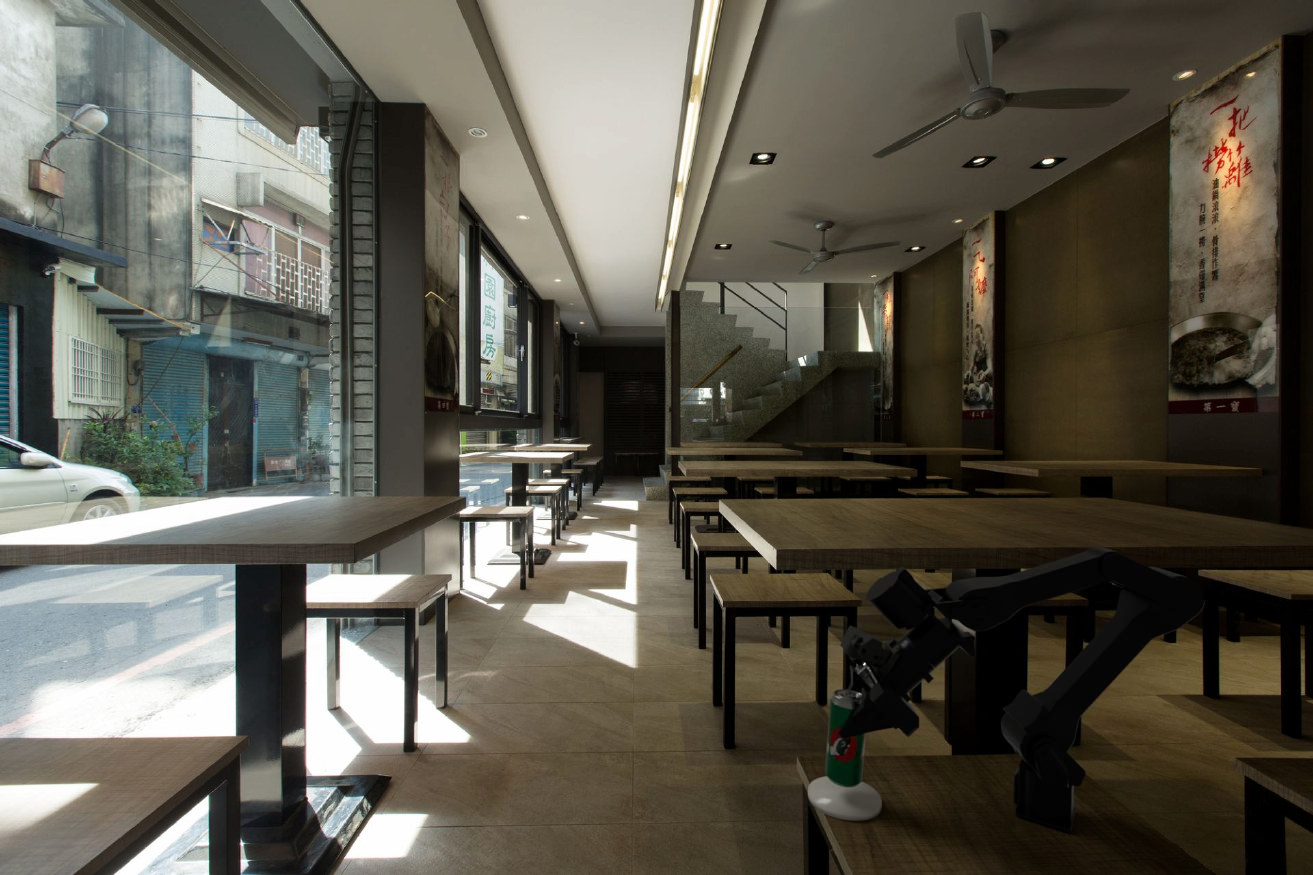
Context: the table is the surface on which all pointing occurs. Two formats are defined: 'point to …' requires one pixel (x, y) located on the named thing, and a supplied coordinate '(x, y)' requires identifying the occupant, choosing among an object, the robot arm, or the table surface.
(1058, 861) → the table surface
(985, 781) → the table surface
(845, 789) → the coaster
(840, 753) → the soda can
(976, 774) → the table surface
